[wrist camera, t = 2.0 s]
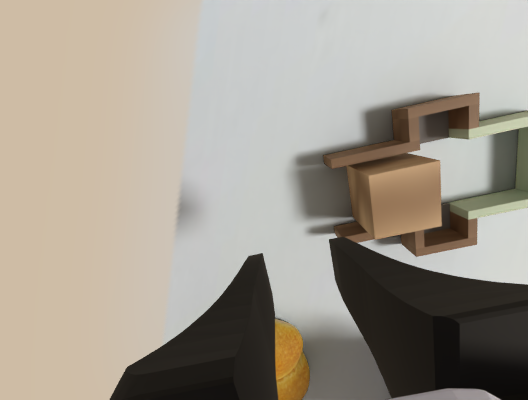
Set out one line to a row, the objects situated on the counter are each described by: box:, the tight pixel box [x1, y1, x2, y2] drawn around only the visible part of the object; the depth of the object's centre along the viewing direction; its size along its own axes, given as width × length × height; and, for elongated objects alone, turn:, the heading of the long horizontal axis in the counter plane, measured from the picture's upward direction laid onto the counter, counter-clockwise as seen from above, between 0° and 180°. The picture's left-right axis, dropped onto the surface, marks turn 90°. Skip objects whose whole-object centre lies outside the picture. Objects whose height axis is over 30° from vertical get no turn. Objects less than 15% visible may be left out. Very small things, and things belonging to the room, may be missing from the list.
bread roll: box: [275, 319, 310, 400], centre depth 22 cm, size 8×9×4 cm
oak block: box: [346, 153, 442, 240], centre depth 17 cm, size 4×4×4 cm
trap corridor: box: [323, 93, 528, 257], centre depth 18 cm, size 10×14×2 cm
